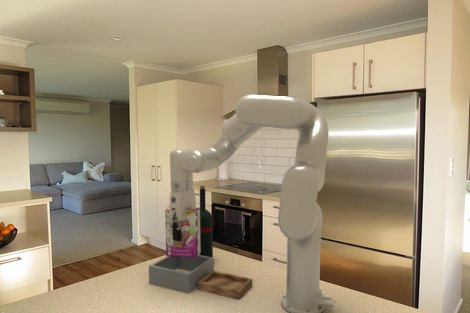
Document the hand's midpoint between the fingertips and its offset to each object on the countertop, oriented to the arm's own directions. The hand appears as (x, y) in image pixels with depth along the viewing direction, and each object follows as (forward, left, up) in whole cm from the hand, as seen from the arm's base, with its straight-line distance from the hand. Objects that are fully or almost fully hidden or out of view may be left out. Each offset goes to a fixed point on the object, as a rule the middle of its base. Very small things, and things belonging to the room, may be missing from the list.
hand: (183, 237), depth 115 cm
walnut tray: (-16, 0, -15) cm, 22 cm away
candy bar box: (0, 0, -6) cm, 6 cm away
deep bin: (0, 0, -15) cm, 15 cm away
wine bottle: (+3, -16, -15) cm, 22 cm away
